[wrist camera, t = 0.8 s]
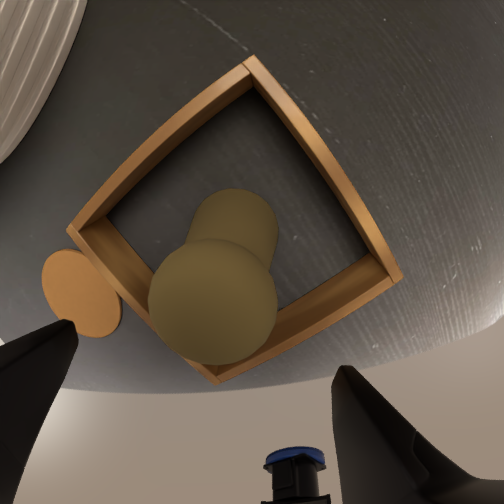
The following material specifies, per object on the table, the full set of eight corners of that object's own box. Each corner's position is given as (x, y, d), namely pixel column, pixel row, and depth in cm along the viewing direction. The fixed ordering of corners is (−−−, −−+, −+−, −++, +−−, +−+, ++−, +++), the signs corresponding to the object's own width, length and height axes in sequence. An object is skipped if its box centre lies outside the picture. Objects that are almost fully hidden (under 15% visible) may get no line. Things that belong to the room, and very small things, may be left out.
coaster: (141, 309, 23) (139, 311, 23) (90, 347, 25) (89, 350, 25) (71, 228, 21) (69, 229, 20) (32, 282, 23) (30, 284, 22)
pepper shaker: (288, 199, 19) (314, 272, 9) (267, 279, 21) (267, 397, 11) (198, 180, 19) (126, 232, 9) (186, 261, 21) (128, 365, 11)
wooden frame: (383, 253, 20) (404, 278, 17) (221, 353, 24) (215, 386, 21) (256, 70, 16) (253, 54, 12) (93, 214, 20) (64, 230, 16)
